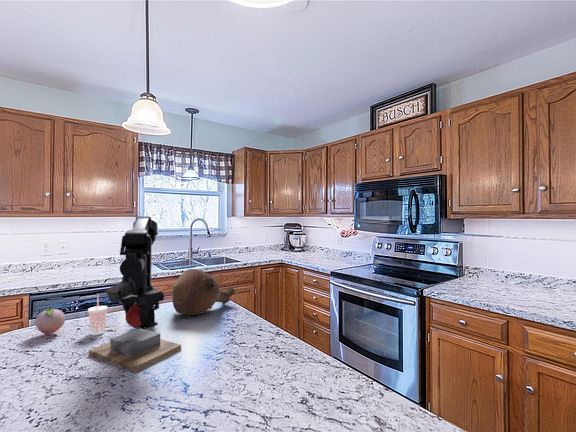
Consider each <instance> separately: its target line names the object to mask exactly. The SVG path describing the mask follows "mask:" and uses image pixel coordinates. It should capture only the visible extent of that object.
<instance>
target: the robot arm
mask: <svg viewBox="0 0 576 432" xmlns="http://www.w3.org/2000/svg"><path fill="white" fill-rule="evenodd" d="M158 228H159V227H158V222H156V221H155V220H153V219H152V217H151V216H148V215H147V216H141V215H140V216H136V217H135V221H134V222H133V225H132V229H129V230H127V231H126V232H124V234H123V235H122V237H121V243H120V251H119V256H125V259H124V260H123V261H122V262H121V263H120V265H119V272H120V274H121V275H122V278H121V281H120V282H118V283H116V284H114V285H113V286H111V287H109V288H107V289H106V291H105V292H106V295H107V298H108V300H109V301H114V302H116V303H117V302H118V303H119V304H121V305H122V308H123V310H124V312H125V313H124V314H126V313H127V312H128V310H129V309H130V308H131V307H133V306H134V303H135V302H136V303H135V304H136V305H137V306H138V307H139V310H140V321H141V325H140V326H139V327H137V329H139V328H141V329H144V330H146V329H148V328H150V327H151V328H152V327H153V326H155V325H158V324H159V323H158V322H157V321H156V317H155V316H156V314H155V311H157V310H158V309H160V302H162V301H164V298H165V293H164V292H163V291H161V290H156V288H155V287H154V285H153V284H152V251H153V250H152V248H153V247H152V246H153V245H154V243H155V242H156V240H157V236H158V235H159V233H158V231H159V230H158Z"/></svg>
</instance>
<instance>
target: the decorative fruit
mask: <svg viewBox="0 0 576 432" xmlns="http://www.w3.org/2000/svg"><path fill="white" fill-rule="evenodd" d="M34 321H35V322H34V323H35V327H36V329H37V330H38V331H39V332H40V333H42V334H44V335H46V336H51V335H53V333H55V332H57V331H59V329H60V330H61V328H62V327H63V326H64V324H65V321H66V315H65V313H64V312H63V311H62V310H59V309H55V308H52V307H50V306H49V308H46V309H45V310H43V311H41V312H40V313H39V314H37V316H36V318H35V320H34Z"/></svg>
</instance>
